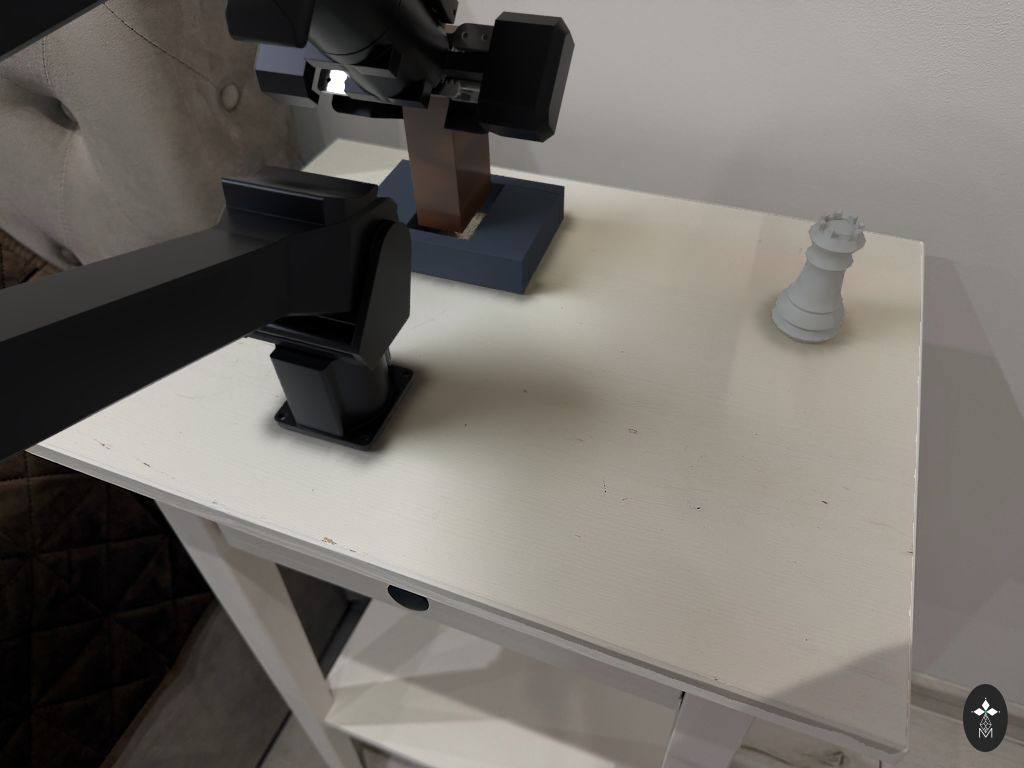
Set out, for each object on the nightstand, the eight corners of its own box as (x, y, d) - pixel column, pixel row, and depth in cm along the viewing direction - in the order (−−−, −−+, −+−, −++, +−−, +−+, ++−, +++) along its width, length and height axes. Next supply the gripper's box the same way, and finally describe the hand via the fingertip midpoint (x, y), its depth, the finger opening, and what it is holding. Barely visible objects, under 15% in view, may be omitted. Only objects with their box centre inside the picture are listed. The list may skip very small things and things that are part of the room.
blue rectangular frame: (523, 295, 50) (522, 261, 47) (350, 258, 53) (342, 225, 51) (563, 218, 56) (564, 185, 54) (407, 190, 59) (402, 158, 57)
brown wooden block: (491, 191, 54) (483, 27, 45) (462, 234, 50) (446, 64, 41) (450, 184, 55) (434, 22, 46) (418, 225, 51) (393, 57, 42)
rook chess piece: (853, 333, 46) (900, 231, 40) (800, 355, 45) (840, 253, 39) (806, 294, 49) (843, 194, 43) (755, 314, 47) (786, 213, 42)
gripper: (571, -170, 31) (613, 13, 46) (218, -181, 35) (361, -12, 50) (515, 83, 31) (574, 180, 46) (176, 39, 36) (330, 140, 51)
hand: (456, 116), depth 48 cm, fingers closed on brown wooden block, 3 cm apart
